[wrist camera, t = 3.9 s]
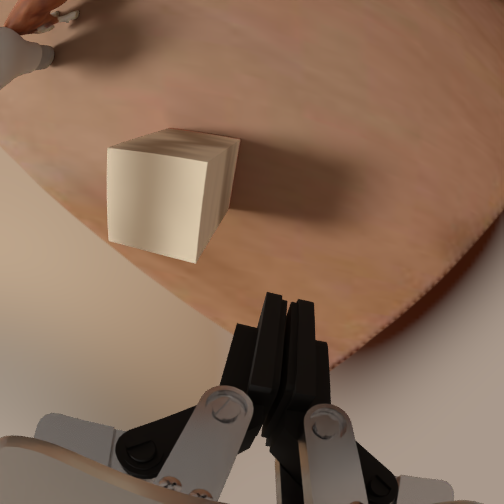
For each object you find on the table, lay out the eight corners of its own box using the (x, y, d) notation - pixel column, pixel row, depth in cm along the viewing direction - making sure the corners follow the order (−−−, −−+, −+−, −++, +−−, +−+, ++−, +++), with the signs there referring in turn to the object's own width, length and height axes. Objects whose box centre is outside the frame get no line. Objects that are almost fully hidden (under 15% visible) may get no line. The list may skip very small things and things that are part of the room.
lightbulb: (78, 61, 20) (-14, 65, 10) (41, 96, 22) (-43, 115, 12) (63, 18, 17) (-22, 13, 8) (28, 55, 19) (-52, 64, 10)
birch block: (240, 138, 22) (207, 162, 14) (228, 208, 25) (195, 263, 17) (169, 127, 22) (107, 147, 15) (163, 194, 25) (108, 240, 18)
